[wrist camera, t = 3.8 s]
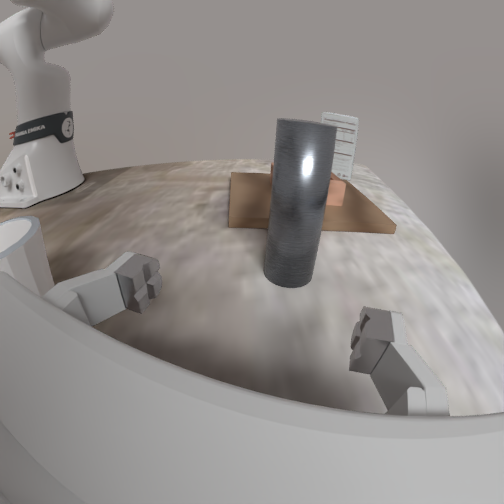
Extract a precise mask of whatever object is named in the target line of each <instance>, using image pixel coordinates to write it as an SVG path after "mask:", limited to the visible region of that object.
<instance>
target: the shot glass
mask: <svg viewBox="0 0 504 504" xmlns="http://www.w3.org/2000/svg"><path fill="white" fill-rule="evenodd" d="M0 271H4V272H6V273H7V274H9V275H10V276H11V277H12V278H14V279H15V280H17V281H18V282H19V283H21V284H22V285H24V286H25V287H27V288H28V289H29V290H31V291H32V292H34V293H35V294H37V295H38V296H40V297H42V296H44V295H45V294H46V293H47V292H48V291H49V290H50V289H52V288H53V287H54V286H55V285H54V281H53V278H52V274H51V271H50V267H49V263H48V259H47V255H46V250H45V246H44V241H43V236H42V231H41V226H40V222H39V218H36V217H33V216H21V217H17V218H13V219H10V220H7V221H4V222H2V223H0Z"/></svg>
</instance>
